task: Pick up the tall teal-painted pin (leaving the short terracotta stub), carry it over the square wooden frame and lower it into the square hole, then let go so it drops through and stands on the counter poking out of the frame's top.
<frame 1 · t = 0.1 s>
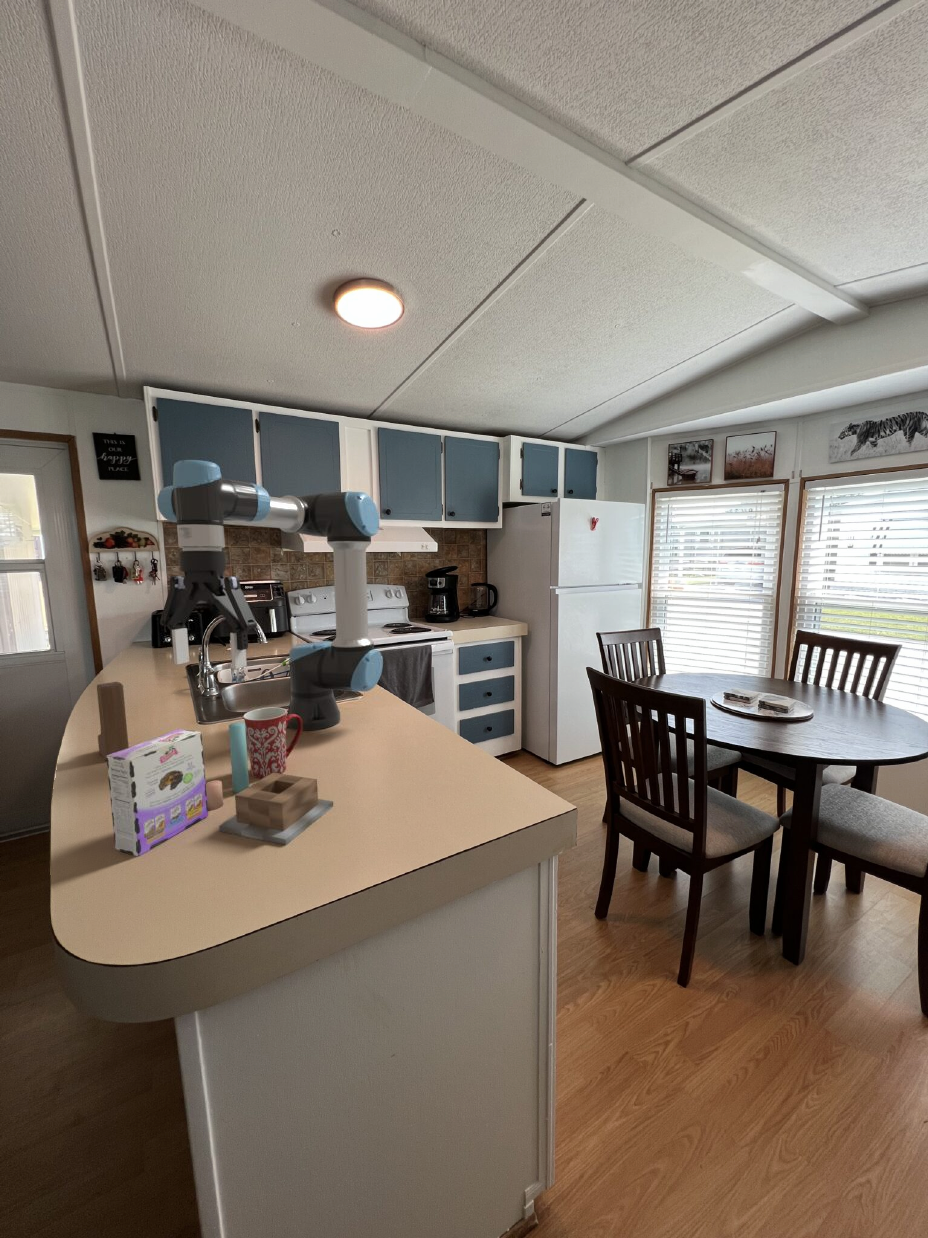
hand: (210, 665, 95), 28 cm above the worktop, fingers open, 13 cm apart
square wooden frame: (279, 818, 94), on the worktop
long pin: (241, 790, 105), on the worktop
wooden block: (114, 755, 125), on the worktop
mug: (276, 770, 116), on the worktop
candy box: (164, 833, 89), on the worktop
short pin: (214, 806, 99), on the worktop
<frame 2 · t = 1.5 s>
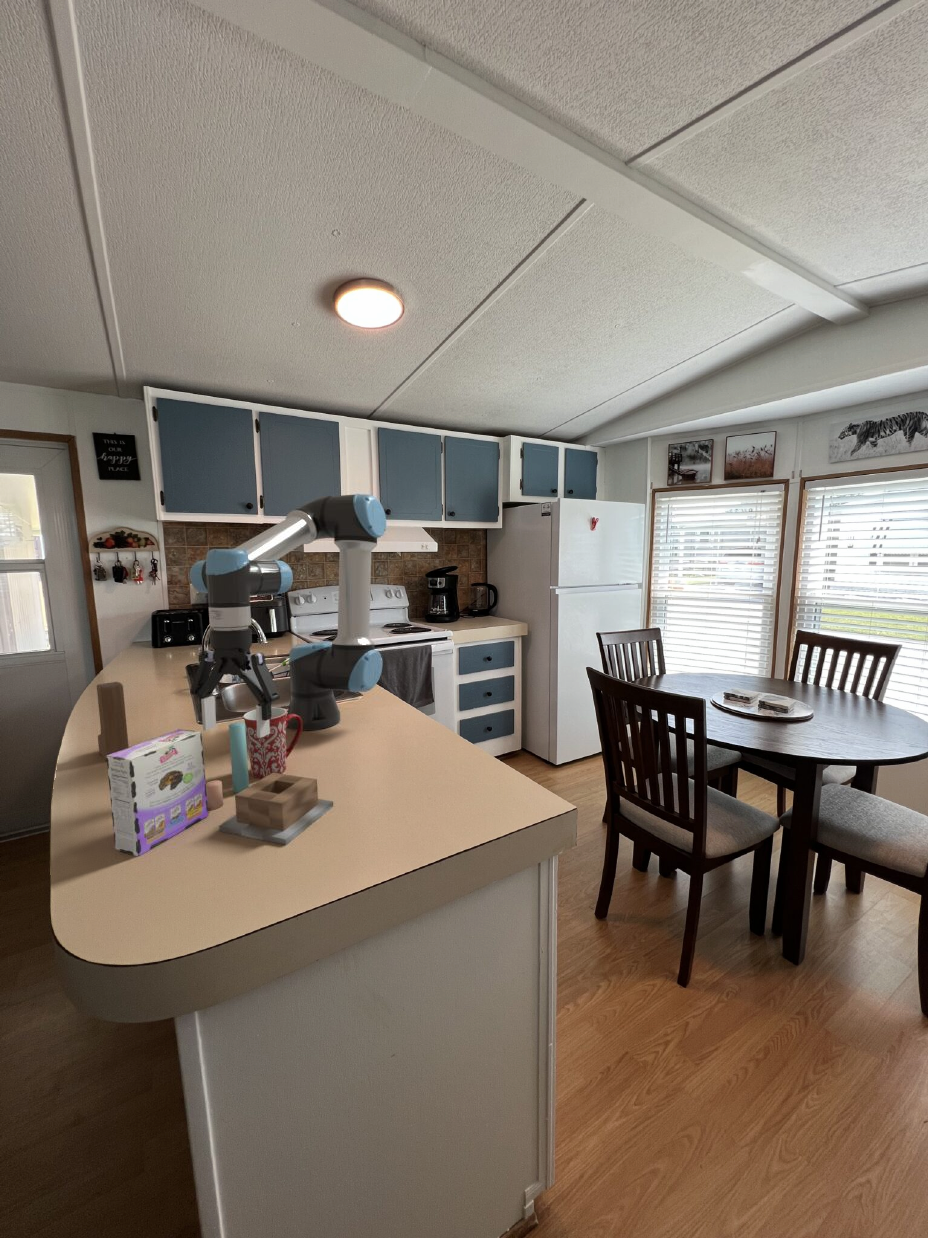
hand: (236, 732, 103), 12 cm above the worktop, fingers open, 13 cm apart
nothing on the worktop moved.
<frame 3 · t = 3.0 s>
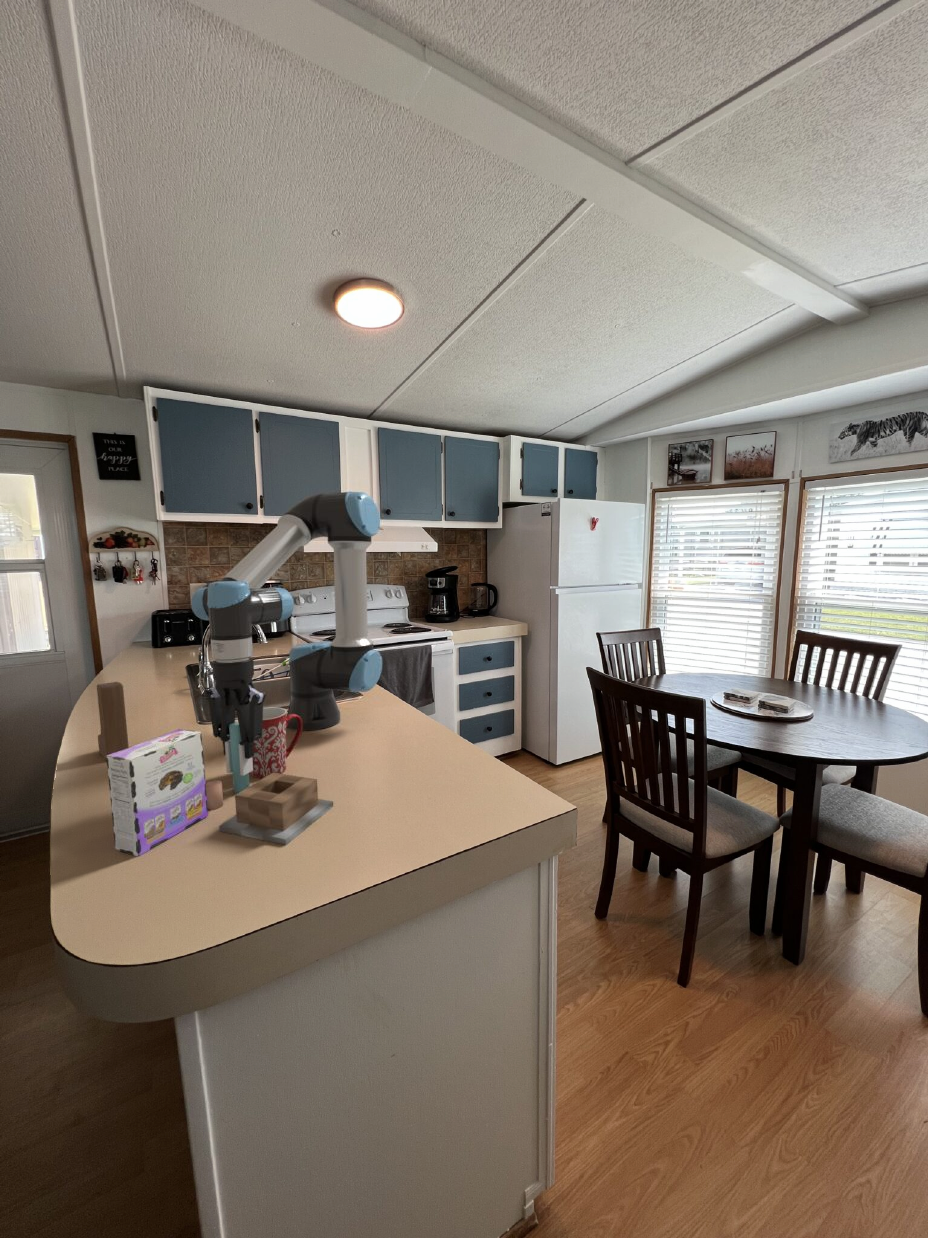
hand: (240, 771, 105), 4 cm above the worktop, fingers closed on long pin, 3 cm apart
long pin: (241, 790, 105), on the worktop, touching gripper
everything else where it was.
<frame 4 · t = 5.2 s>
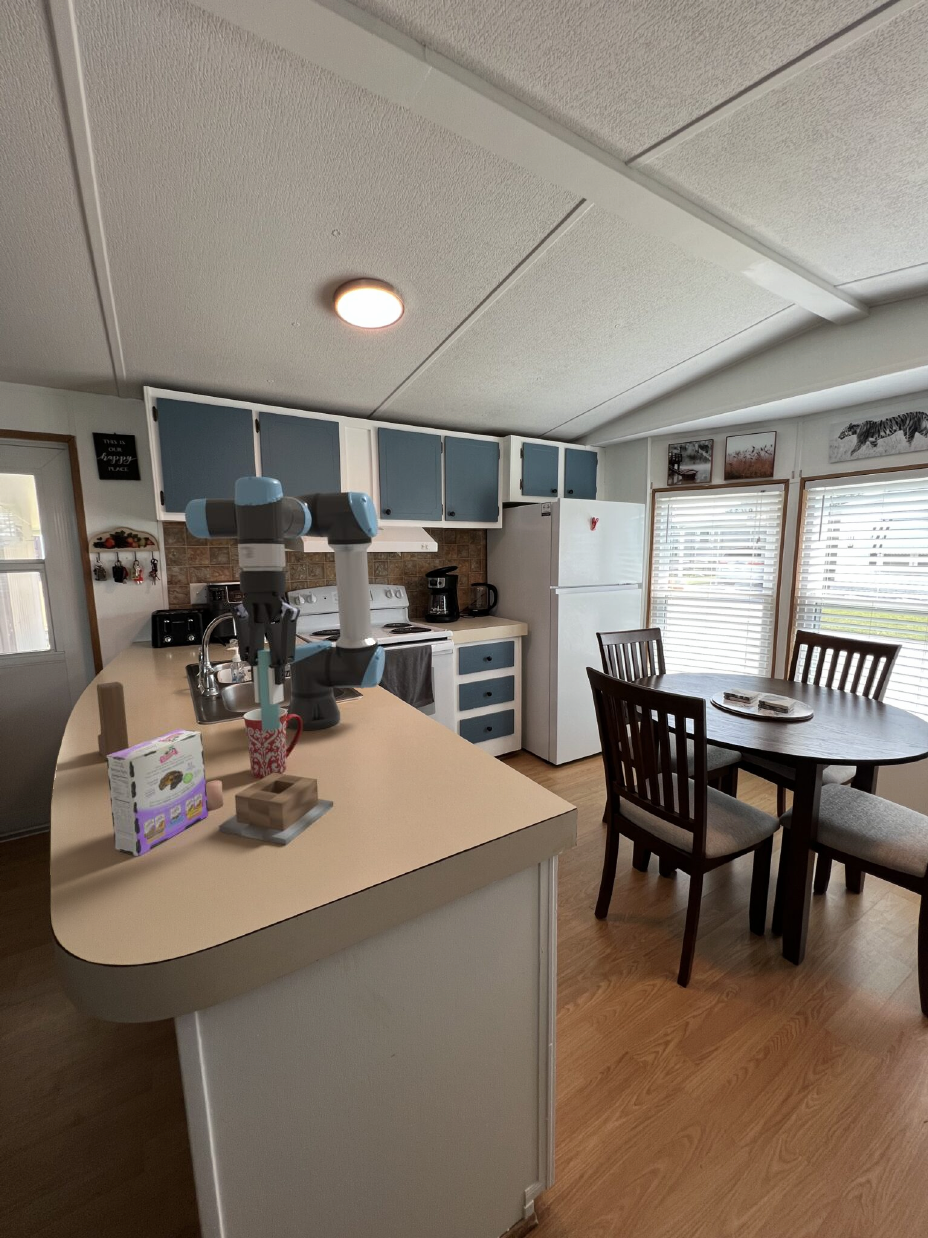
hand: (269, 701, 91), 22 cm above the worktop, fingers closed on long pin, 2 cm apart
long pin: (271, 727, 92), point 17 cm above the worktop, touching gripper
everything else where it was.
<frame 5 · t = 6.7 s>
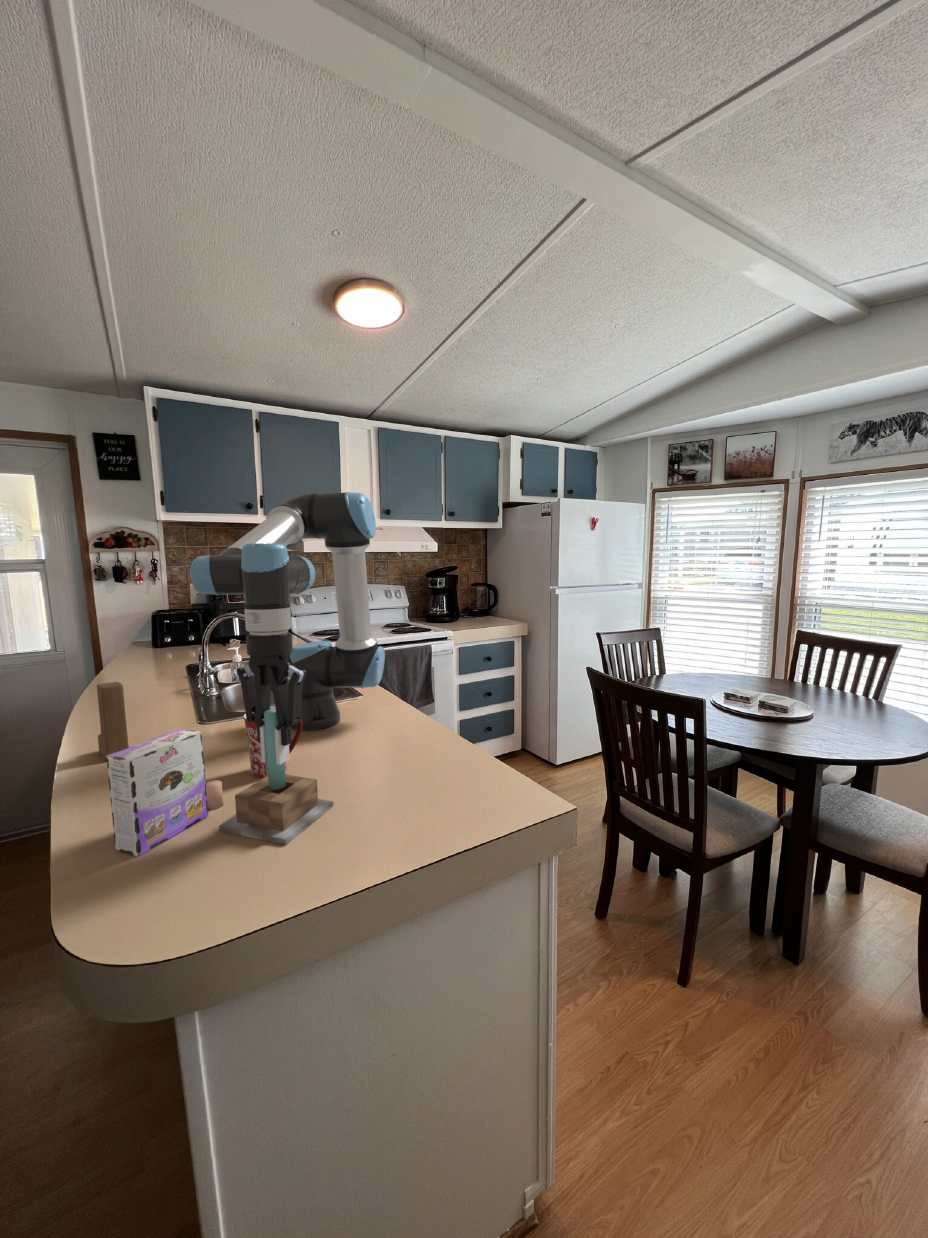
hand: (275, 760, 92), 11 cm above the worktop, fingers closed on long pin, 2 cm apart
long pin: (277, 786, 93), point 6 cm above the worktop, touching gripper
everything else where it was.
when the fingers open (8 cm above the worktop, at t = 7.5 s): long pin drops 3 cm, resting in square wooden frame.
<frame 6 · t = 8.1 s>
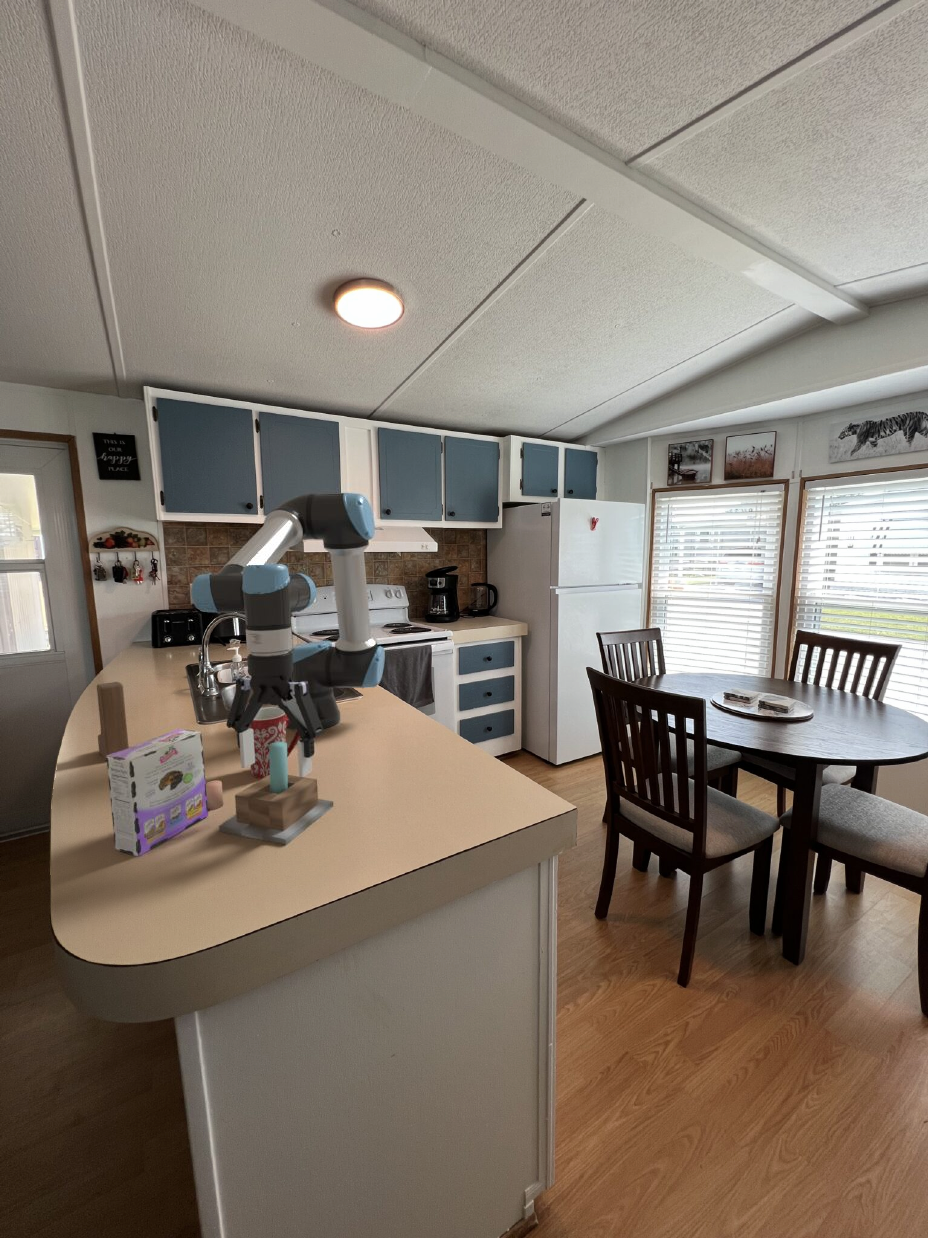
hand: (276, 769, 93), 9 cm above the worktop, fingers open, 12 cm apart
long pin: (279, 817, 94), resting in square wooden frame
everything else where it was.
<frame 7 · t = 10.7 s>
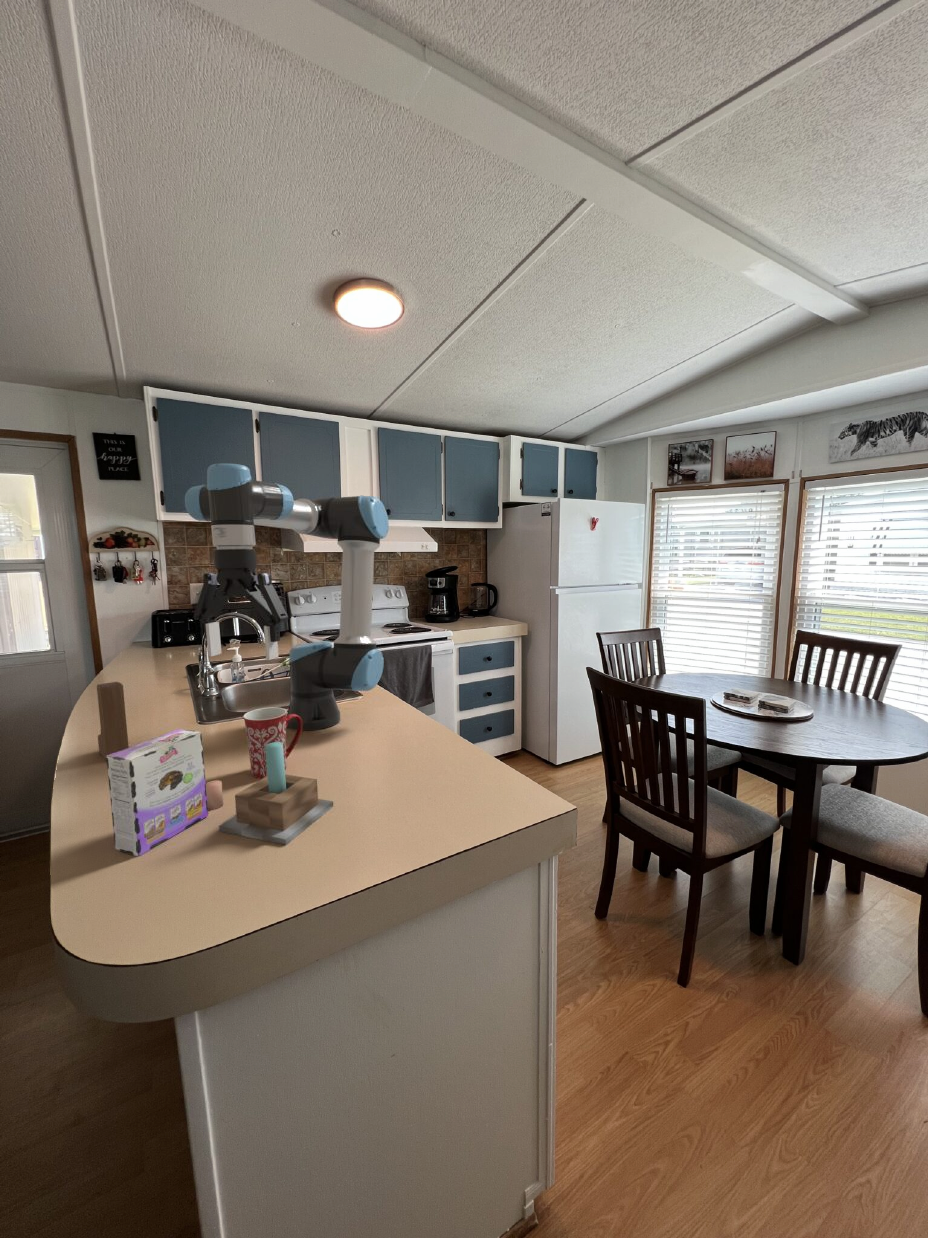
hand: (243, 656, 101), 28 cm above the worktop, fingers open, 13 cm apart
nothing on the worktop moved.
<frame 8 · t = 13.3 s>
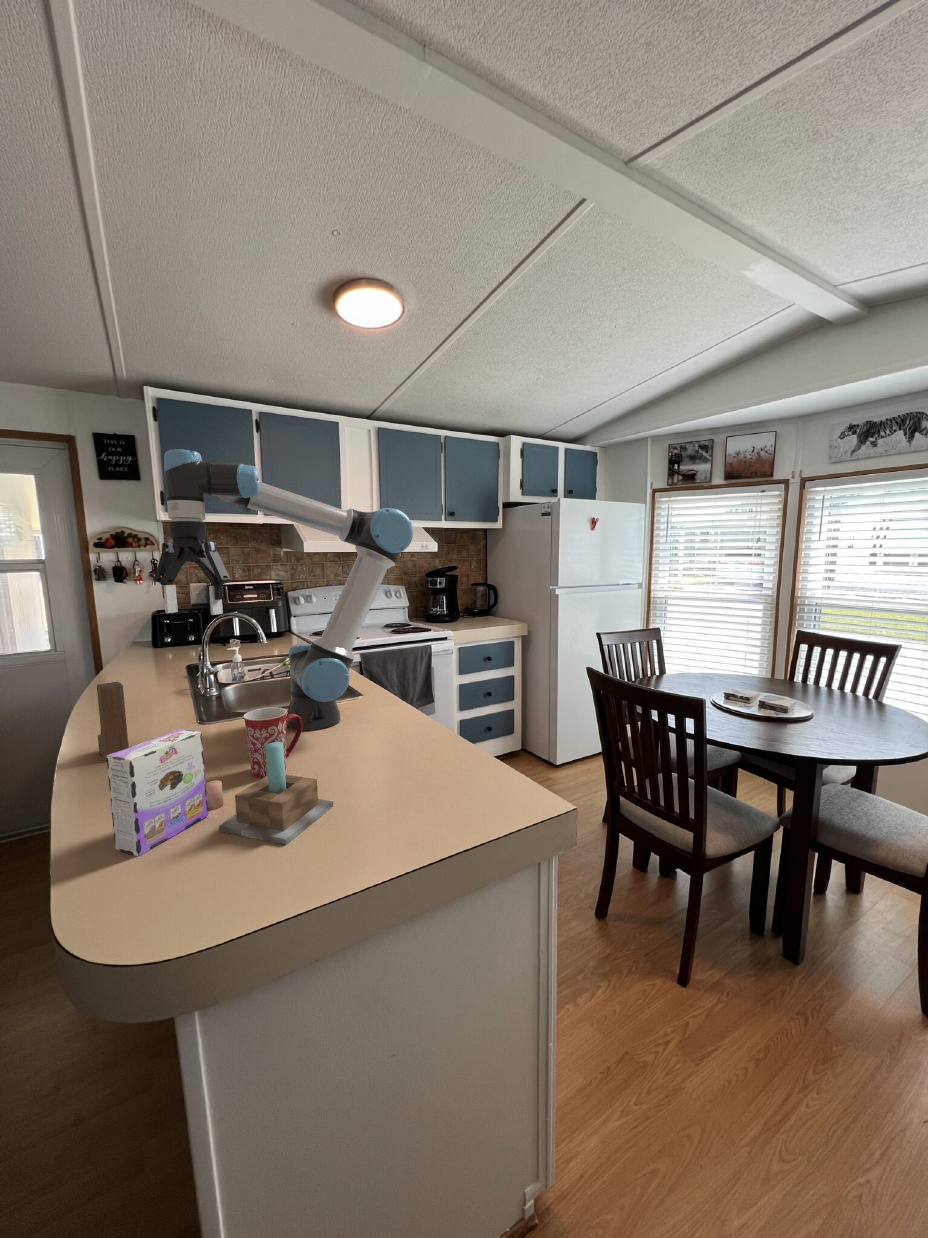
hand: (193, 613, 119), 35 cm above the worktop, fingers open, 13 cm apart
nothing on the worktop moved.
at the end: long pin 0.1 cm off-centre on the square wooden frame, point 0.0 cm above the square wooden frame's base; long pin tilted 1°; the gripper is holding nothing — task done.
